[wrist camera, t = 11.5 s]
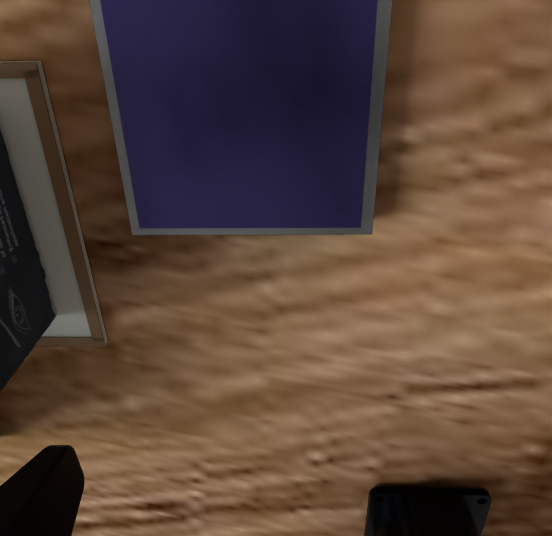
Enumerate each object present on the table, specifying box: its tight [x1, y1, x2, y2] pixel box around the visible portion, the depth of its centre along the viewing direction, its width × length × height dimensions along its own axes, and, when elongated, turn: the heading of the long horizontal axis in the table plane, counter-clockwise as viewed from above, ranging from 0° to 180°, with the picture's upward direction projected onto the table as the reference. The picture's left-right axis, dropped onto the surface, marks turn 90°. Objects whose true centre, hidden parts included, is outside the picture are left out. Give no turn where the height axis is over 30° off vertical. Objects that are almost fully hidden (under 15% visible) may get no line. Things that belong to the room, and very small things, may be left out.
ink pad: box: [89, 0, 392, 235], centre depth 16 cm, size 9×9×2 cm
